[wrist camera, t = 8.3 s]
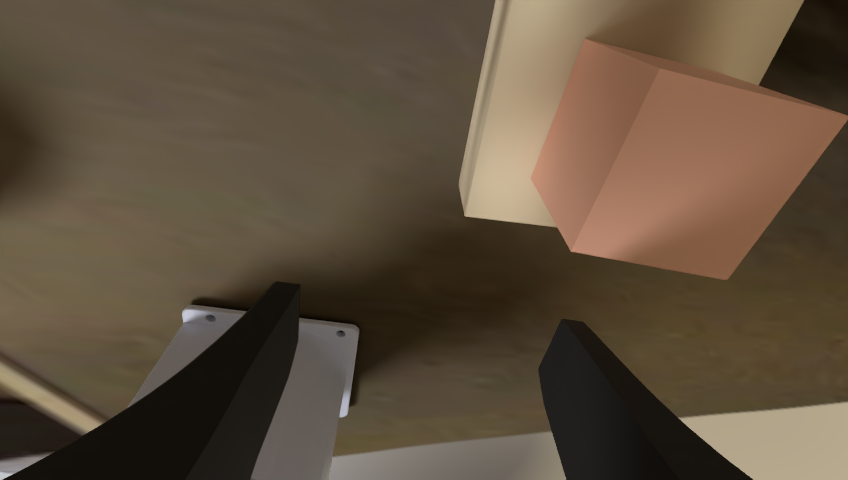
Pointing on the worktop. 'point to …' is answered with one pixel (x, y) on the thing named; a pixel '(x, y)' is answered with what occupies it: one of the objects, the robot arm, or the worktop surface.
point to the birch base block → (553, 63)
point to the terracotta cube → (672, 160)
